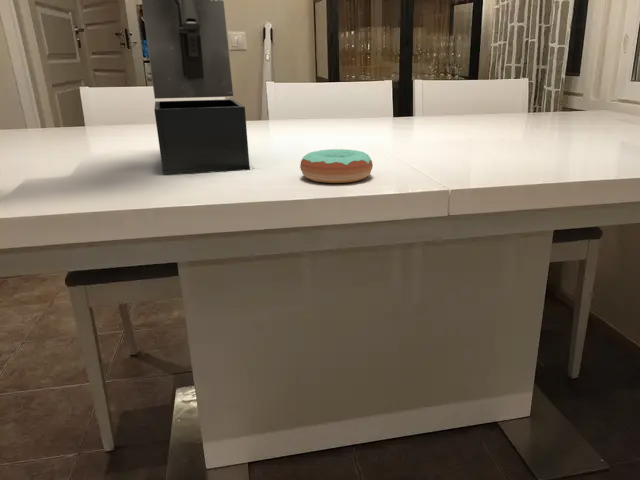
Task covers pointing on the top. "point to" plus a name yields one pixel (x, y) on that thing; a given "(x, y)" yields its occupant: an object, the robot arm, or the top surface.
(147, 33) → the bin lid
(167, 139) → the trash bin
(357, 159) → the donut
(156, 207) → the top surface
